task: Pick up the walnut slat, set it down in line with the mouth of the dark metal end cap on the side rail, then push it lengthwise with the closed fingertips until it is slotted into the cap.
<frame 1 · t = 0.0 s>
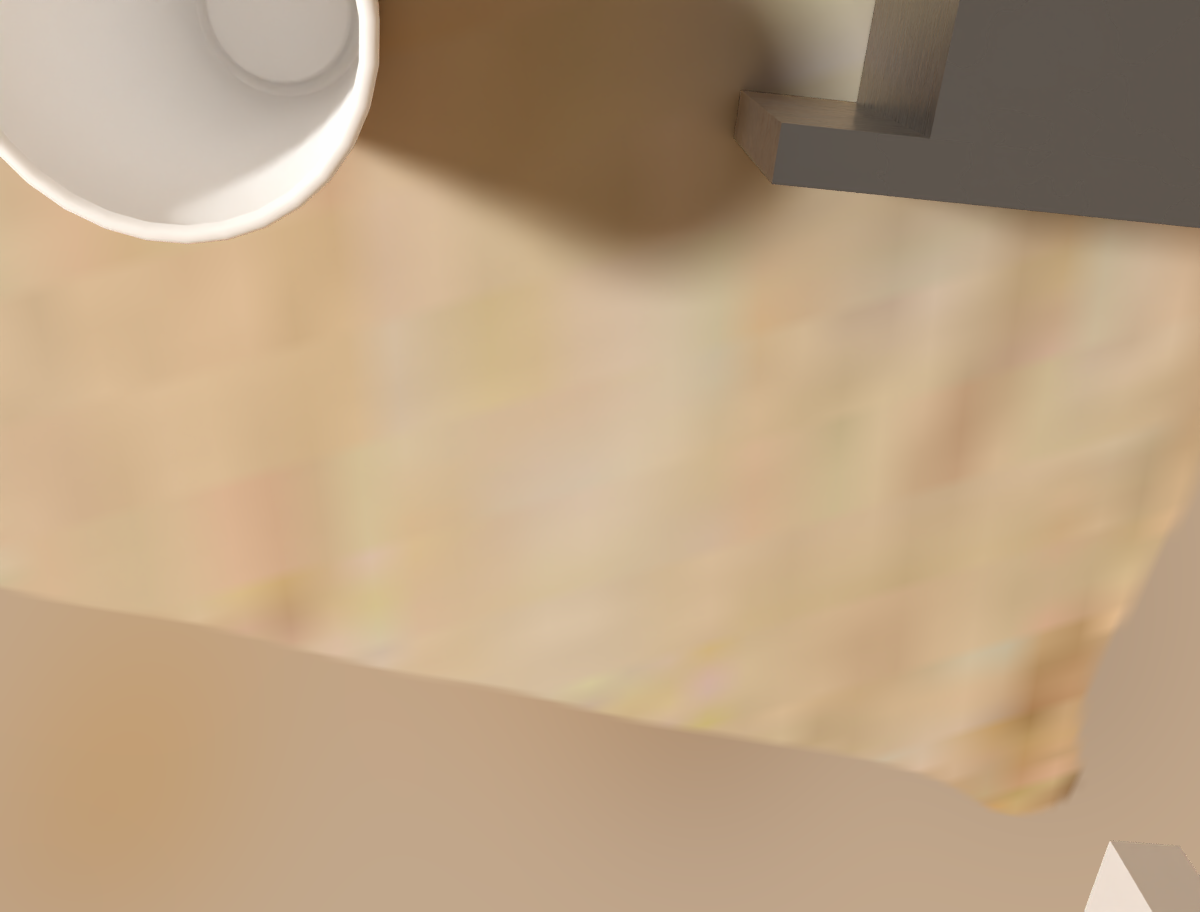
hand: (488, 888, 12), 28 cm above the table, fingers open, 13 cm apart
endcap: (994, 14, 35), on the table
cup: (283, 6, 35), on the table
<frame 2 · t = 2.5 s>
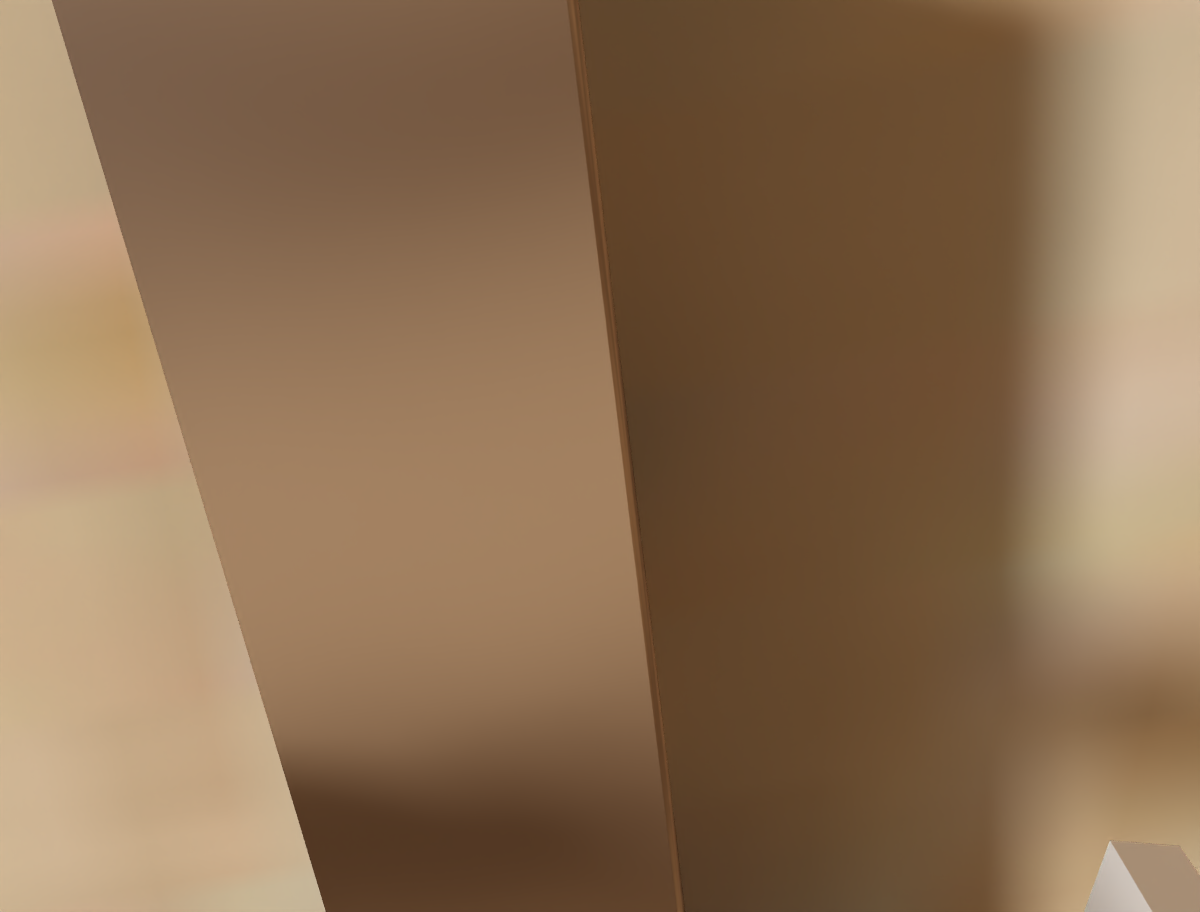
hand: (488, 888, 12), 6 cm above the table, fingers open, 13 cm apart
slat: (515, 548, 18), on the table
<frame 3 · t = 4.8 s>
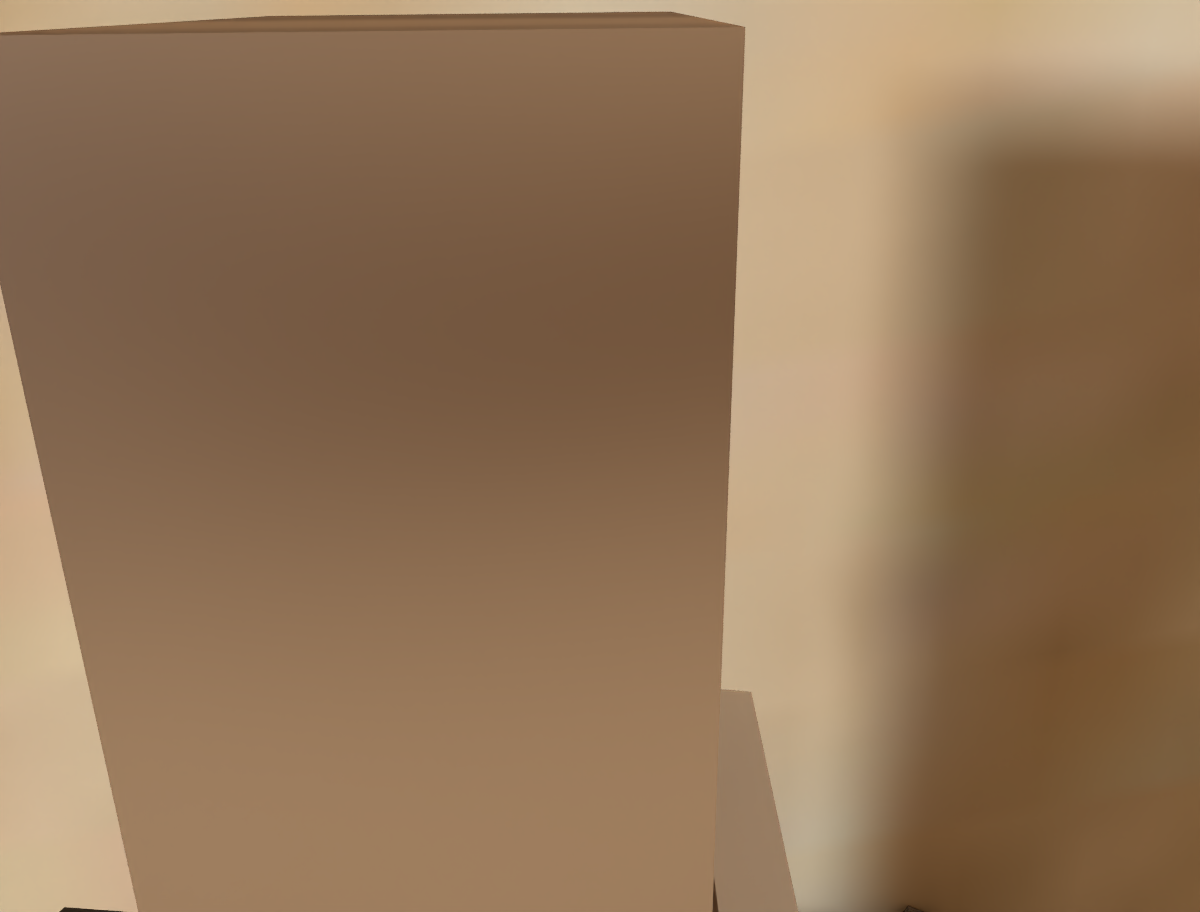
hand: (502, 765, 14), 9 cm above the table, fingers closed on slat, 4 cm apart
slat: (508, 754, 15), point 8 cm above the table, touching gripper
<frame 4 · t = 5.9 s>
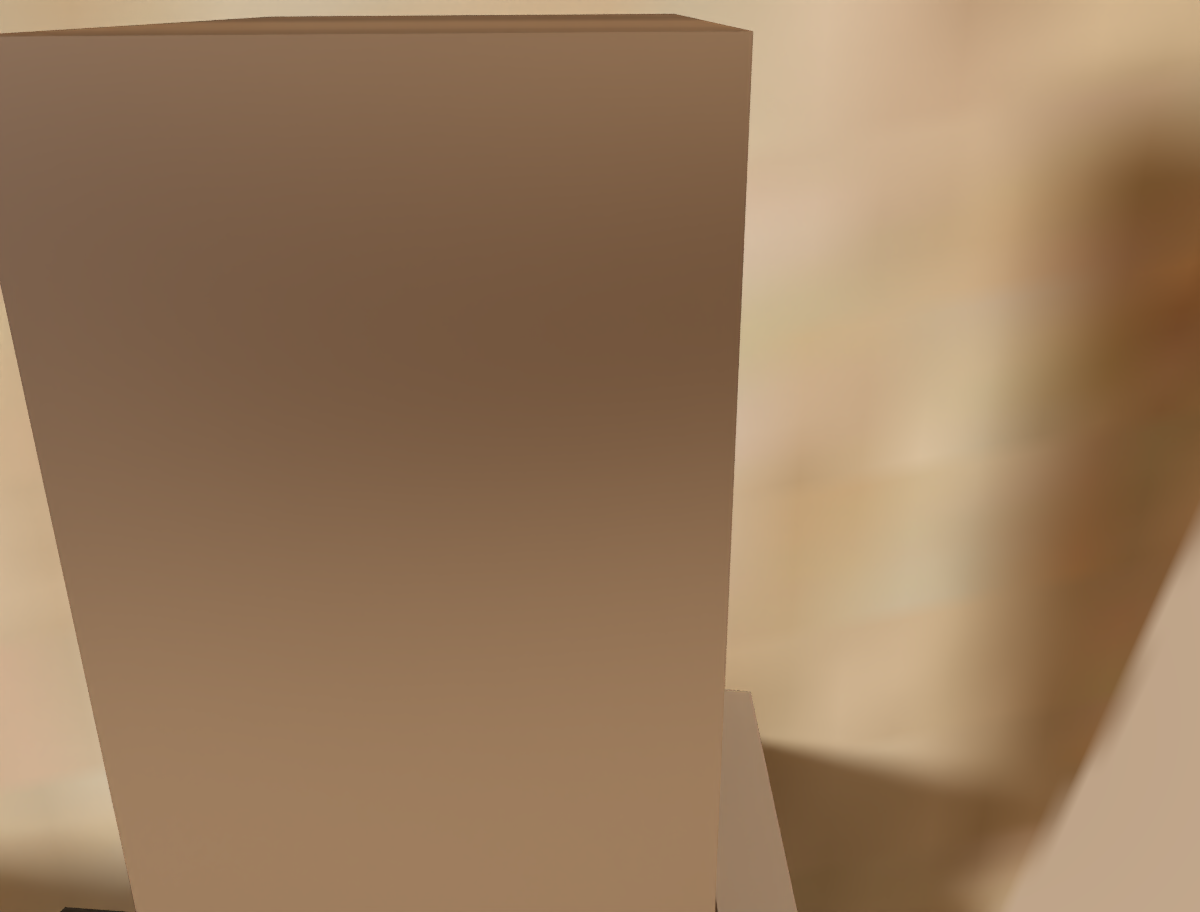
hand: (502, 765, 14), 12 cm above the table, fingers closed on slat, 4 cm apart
slat: (507, 757, 14), point 11 cm above the table, touching gripper
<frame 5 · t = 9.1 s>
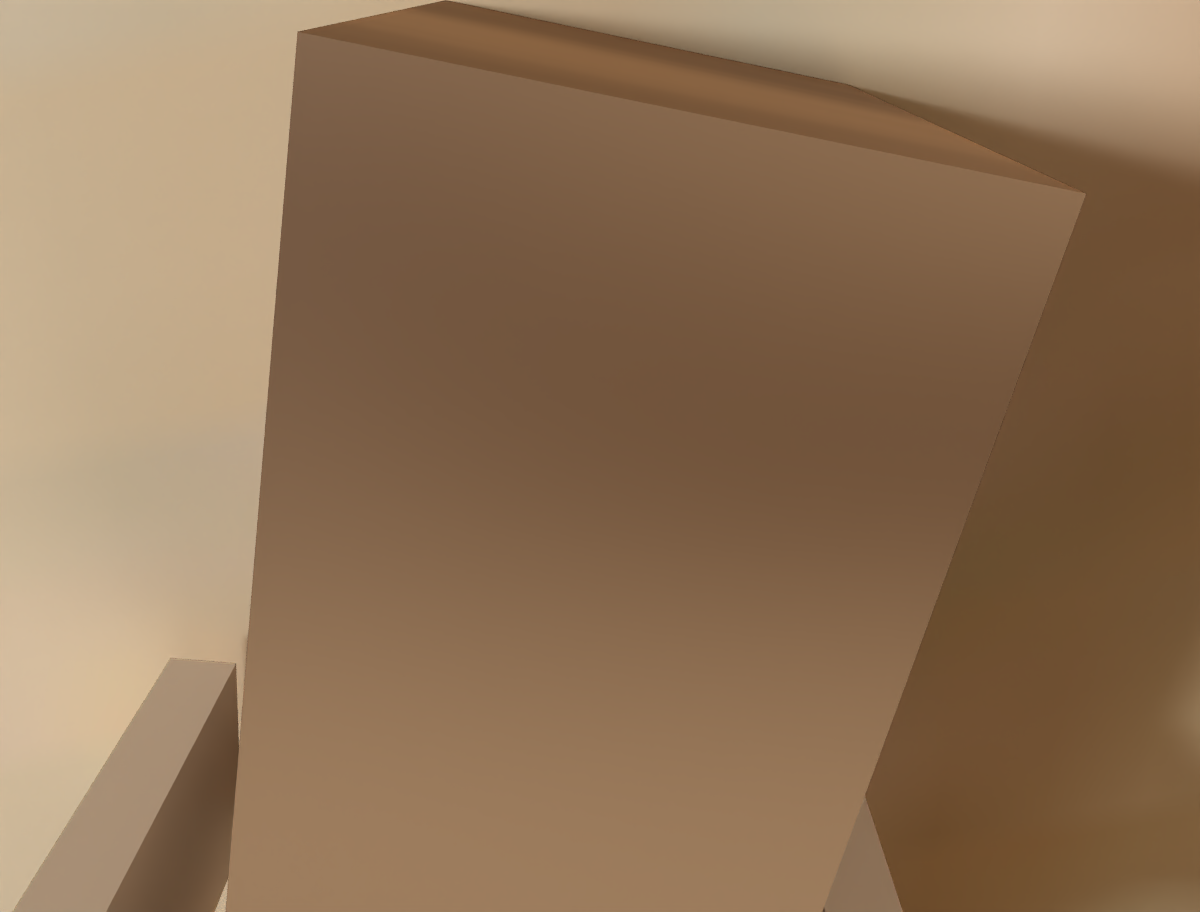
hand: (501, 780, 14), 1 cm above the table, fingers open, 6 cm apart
slat: (504, 761, 15), on the table
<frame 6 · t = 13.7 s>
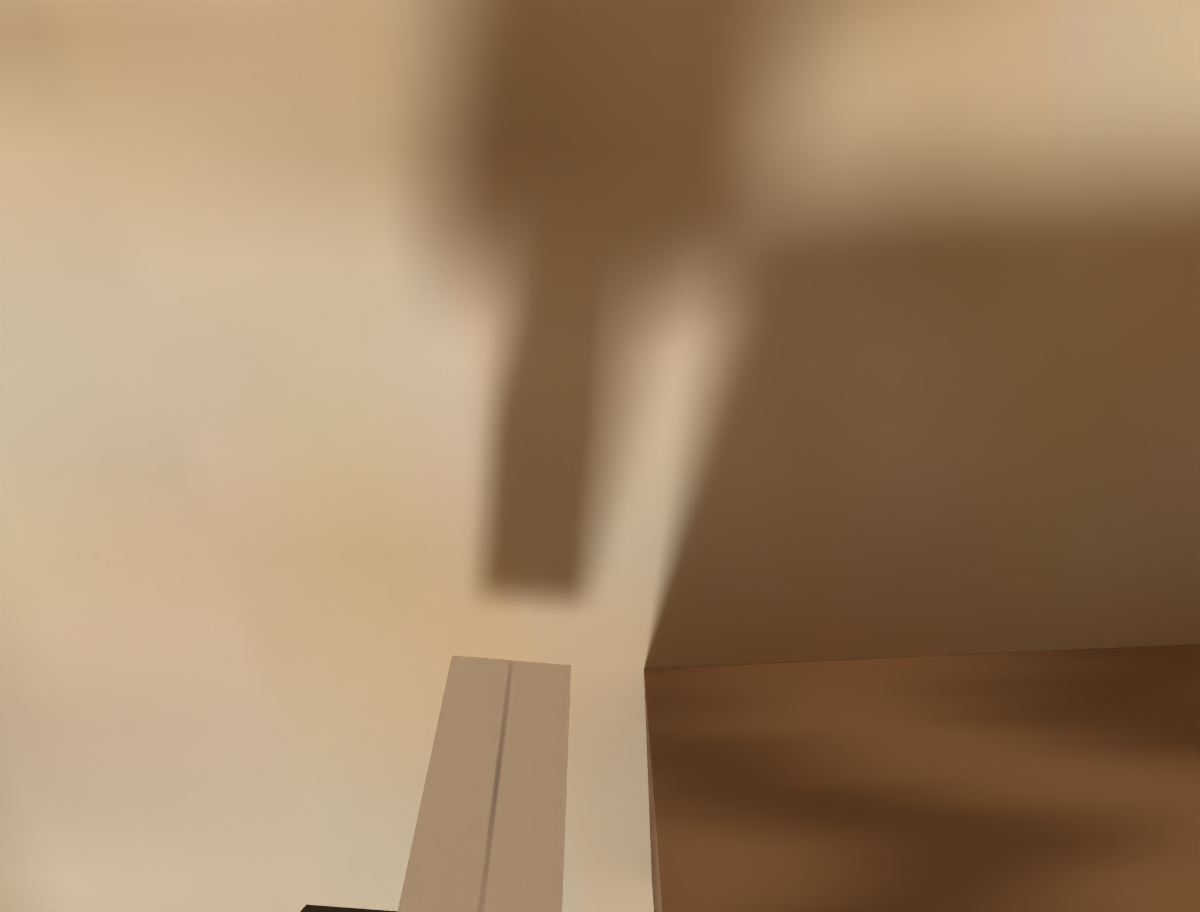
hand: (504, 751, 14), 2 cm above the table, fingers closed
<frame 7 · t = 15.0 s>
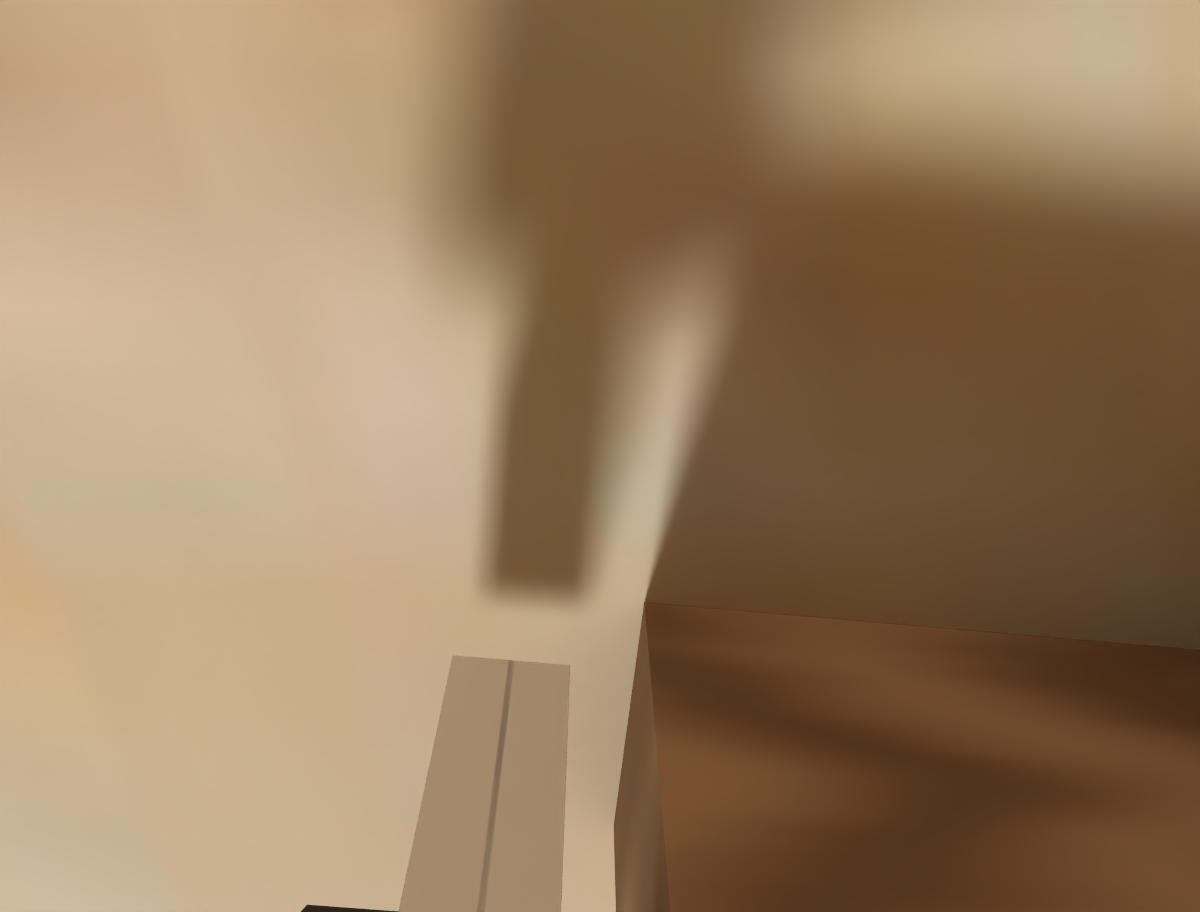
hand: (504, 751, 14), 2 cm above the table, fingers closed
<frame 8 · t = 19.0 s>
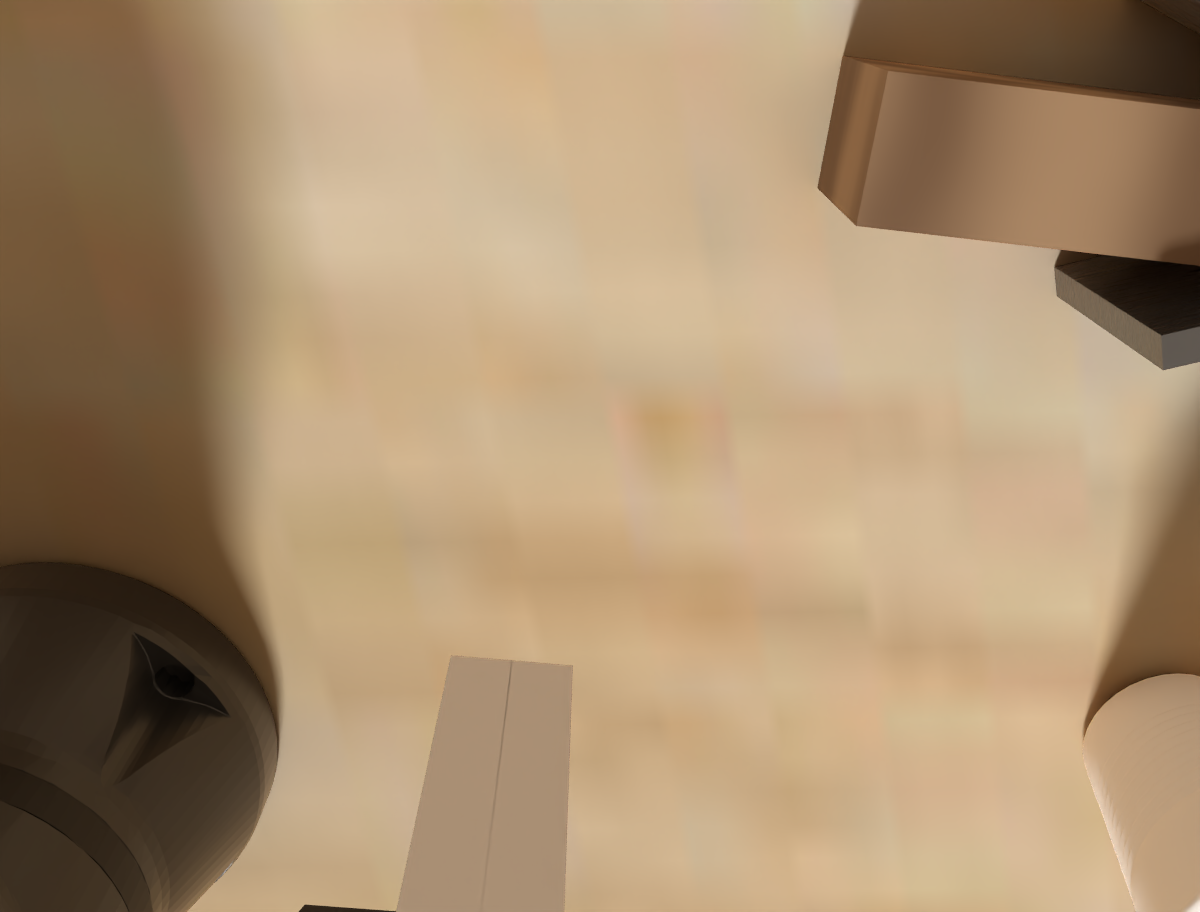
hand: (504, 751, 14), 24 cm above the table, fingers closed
slat: (1107, 156, 35), on the table
cup: (1154, 729, 44), on the table
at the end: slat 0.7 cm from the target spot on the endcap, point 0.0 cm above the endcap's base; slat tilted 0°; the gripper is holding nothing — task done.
